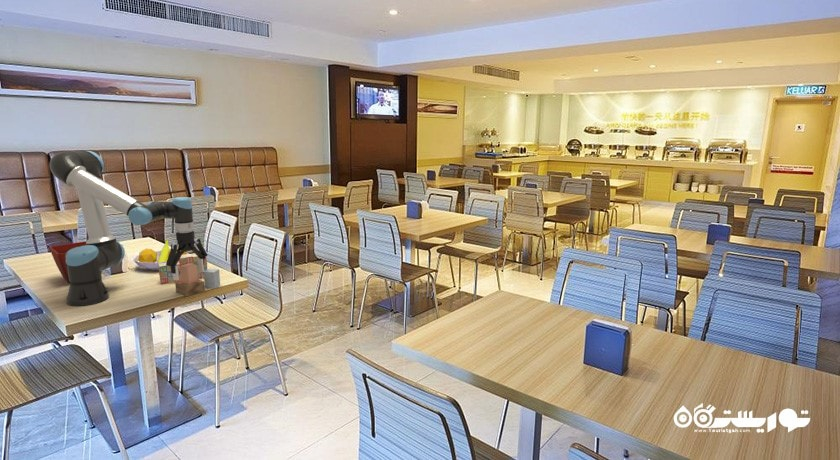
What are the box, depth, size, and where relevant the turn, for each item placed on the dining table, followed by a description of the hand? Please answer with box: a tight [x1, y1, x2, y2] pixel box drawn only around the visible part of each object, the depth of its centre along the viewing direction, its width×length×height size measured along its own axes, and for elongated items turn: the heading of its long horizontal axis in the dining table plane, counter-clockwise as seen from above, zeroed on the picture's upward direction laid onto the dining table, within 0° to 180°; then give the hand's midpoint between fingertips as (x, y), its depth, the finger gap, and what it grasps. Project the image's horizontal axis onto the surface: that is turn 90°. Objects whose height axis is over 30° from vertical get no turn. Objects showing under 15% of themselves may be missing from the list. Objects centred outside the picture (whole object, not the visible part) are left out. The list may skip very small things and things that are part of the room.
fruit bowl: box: [132, 239, 190, 271], centre depth 257 cm, size 28×27×11 cm
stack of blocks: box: [158, 252, 208, 285], centre depth 235 cm, size 21×6×12 cm, turn 123°
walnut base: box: [174, 279, 206, 297], centre depth 219 cm, size 9×9×5 cm
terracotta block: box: [180, 264, 198, 284], centre depth 217 cm, size 5×5×8 cm
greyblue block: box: [203, 268, 221, 289], centre depth 226 cm, size 5×5×8 cm
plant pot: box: [49, 240, 103, 284], centre depth 233 cm, size 19×19×17 cm
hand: (189, 275), depth 218 cm, fingers open, 13 cm apart
